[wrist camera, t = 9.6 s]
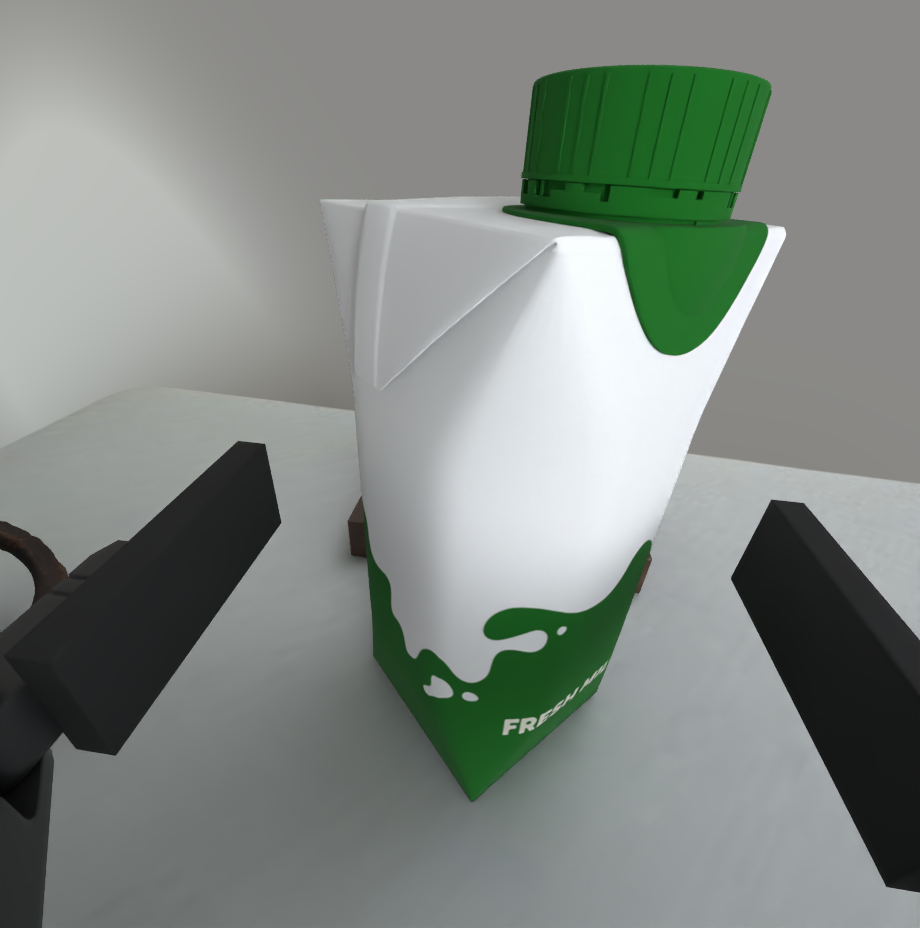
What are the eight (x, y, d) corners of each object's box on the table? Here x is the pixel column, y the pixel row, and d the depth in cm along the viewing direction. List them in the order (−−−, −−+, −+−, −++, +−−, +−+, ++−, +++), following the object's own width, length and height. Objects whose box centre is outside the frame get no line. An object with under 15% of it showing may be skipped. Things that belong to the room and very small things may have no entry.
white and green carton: (467, 849, 15) (595, -5, 4) (344, 650, 21) (265, 83, 10) (627, 696, 20) (882, 109, 9) (489, 569, 26) (542, 124, 15)
